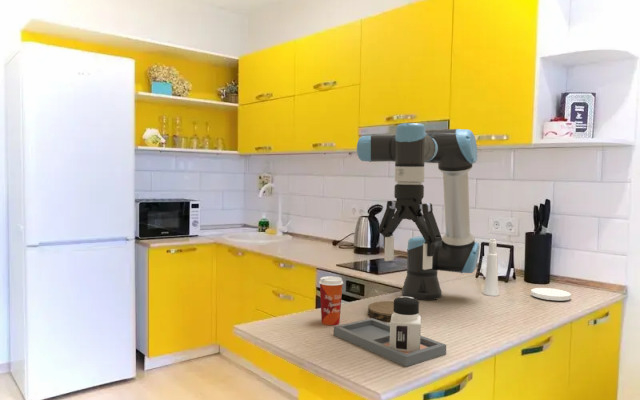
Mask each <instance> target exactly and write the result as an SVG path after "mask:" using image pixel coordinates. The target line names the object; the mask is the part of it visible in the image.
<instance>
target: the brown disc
mask: <svg viewBox="0 0 640 400" xmlns="http://www.w3.org/2000/svg"><path fill="white" fill-rule="evenodd" d="M367 308H368V309H367V315H368V316H369V317H370V318H374V319H376V320H379V321H382V322H385V323H390V321H391V316H392V314H393V310H394V300H392V301H391V300H386V301H385V300H382V301H376V302H371V303H369V304H368V307H367Z"/></svg>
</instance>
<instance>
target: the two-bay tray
mask: <svg viewBox="0 0 640 400" xmlns="http://www.w3.org/2000/svg"><path fill="white" fill-rule="evenodd" d="M333 336H336V337H337V338H340V339H342V340H344V341H346V342H348V343H351V344H354V345H356V346H357V347H360V348H362V349H364V350H367V351H369V352H371V353H373V354H375V355H378V356H380V357H383V358H385V359H387V360H390V361H391V362H394V363H396V364H398V365H401V366H402V367H405V368H408V367H411V366H413V365H417V364H420V363H422V362H426V361H430V360H432V359H437V358H440V357H442V356H445V355H447V344H446V343H442V342H440V341H437V340H434V339H431V338H429V337H427V336H423V335H421V334H420V350H417V351H414V352H403V351H398V350H396V349H393V348H391V347H390V323H388V322H384V321H379V320H376V319H374V318H371V317H370V318H365V319H362V320H357V321H352V322H348V323H342V324H337V325H333Z"/></svg>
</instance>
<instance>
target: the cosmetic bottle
mask: <svg viewBox="0 0 640 400" xmlns="http://www.w3.org/2000/svg"><path fill="white" fill-rule="evenodd" d="M497 243H498V242H497V239H495V238H490V239H489V242H488V253H487V257H486V269H485V270H486V271H485V280H484V286H483V292H482V294H483V295H484V296H489V297H497V296H500V291H499V276H498V274H499V272H498V253H497Z"/></svg>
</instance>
